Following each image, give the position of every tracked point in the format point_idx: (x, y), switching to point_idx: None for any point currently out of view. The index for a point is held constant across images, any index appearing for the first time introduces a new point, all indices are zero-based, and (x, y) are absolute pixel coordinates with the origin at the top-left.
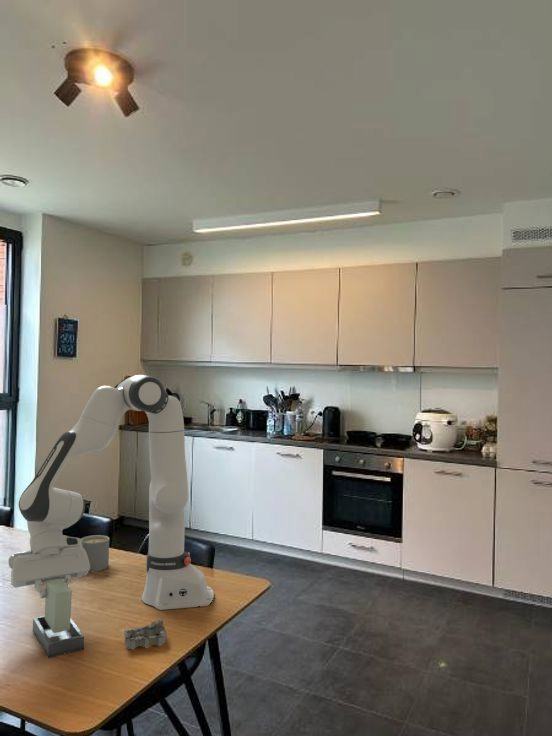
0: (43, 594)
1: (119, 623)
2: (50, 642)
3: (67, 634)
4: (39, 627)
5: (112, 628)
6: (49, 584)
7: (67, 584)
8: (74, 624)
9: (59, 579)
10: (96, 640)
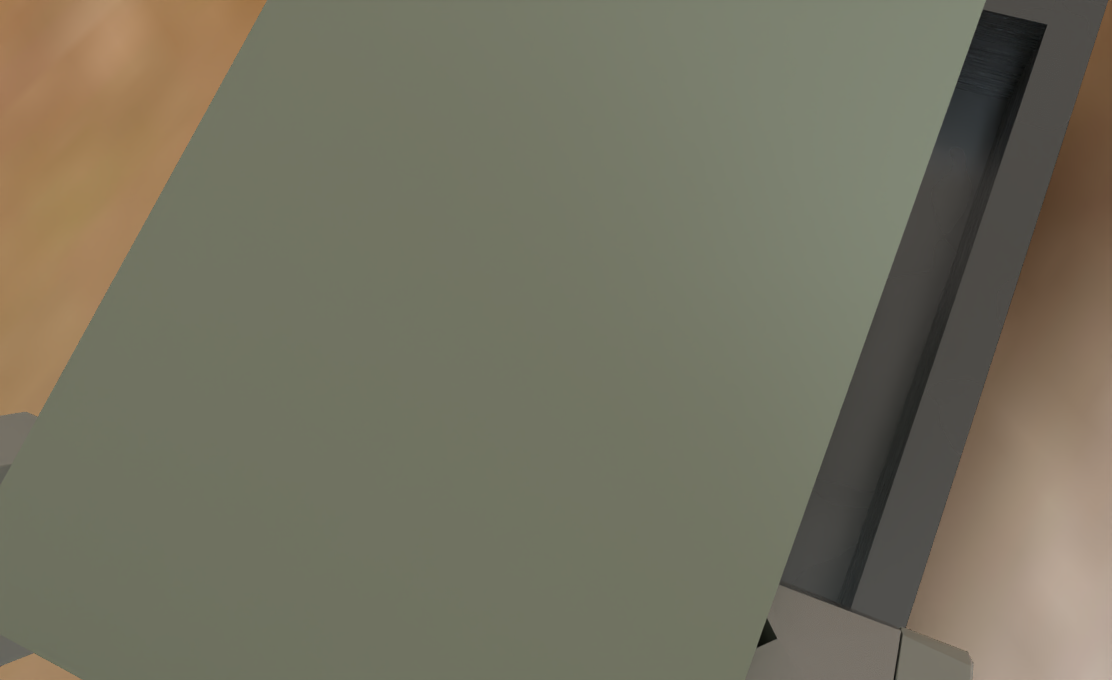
0: (914, 639)
1: (17, 202)
2: (1059, 28)
3: None
4: (903, 595)
5: (145, 162)
6: (836, 337)
7: (31, 427)
8: None
9: (90, 559)
10: None
